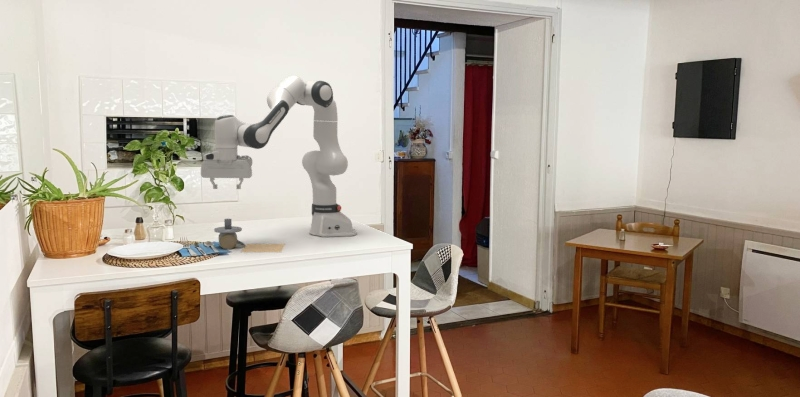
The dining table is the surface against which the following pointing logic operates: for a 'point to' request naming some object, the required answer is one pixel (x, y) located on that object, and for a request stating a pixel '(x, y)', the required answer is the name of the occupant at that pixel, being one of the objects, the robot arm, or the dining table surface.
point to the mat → (263, 248)
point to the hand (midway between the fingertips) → (227, 188)
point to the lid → (228, 227)
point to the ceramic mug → (229, 241)
